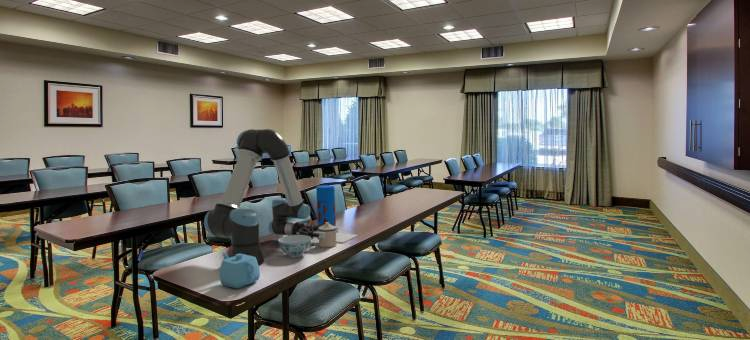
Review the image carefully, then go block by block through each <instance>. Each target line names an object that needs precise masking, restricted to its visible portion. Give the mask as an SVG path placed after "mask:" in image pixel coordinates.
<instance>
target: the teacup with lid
mask: <svg viewBox="0 0 750 340" xmlns="http://www.w3.org/2000/svg"><path fill="white" fill-rule="evenodd" d="M336 227H337V226H336ZM336 227H335V226H332V225H331V224H329V222H326V223H325V225H323V226H321V227H319V228H318V230H317V231H316V232H318V231H319V232H323V233H326V238H325V239H324V238H316V239H317V240H318V245H319V247H320V248H324V249H325V248H327V249H328V248H335V246H337V243H336Z"/></svg>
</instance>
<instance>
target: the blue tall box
mask: <svg viewBox="0 0 750 340" xmlns="http://www.w3.org/2000/svg"><path fill="white" fill-rule="evenodd" d="M315 189H316V192H315V193H316V194H315V195H316V219H317V220H316V221H317V222H316V223H317V224H316V225H325V223H326V222H329V224H331V225H332V226H335V227H337V226H336V223H337V222H336V215H337V214H336V188H335V185H332V184H331V185H330V184H329V185H328V184H326V185H317V186H316V188H315Z"/></svg>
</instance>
